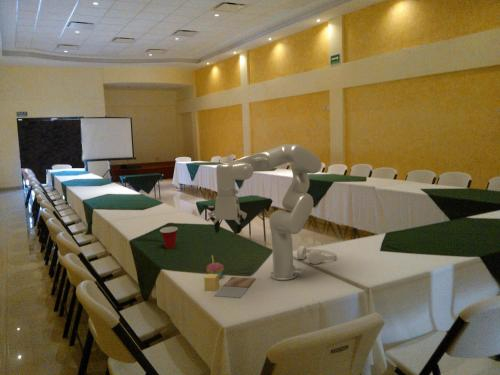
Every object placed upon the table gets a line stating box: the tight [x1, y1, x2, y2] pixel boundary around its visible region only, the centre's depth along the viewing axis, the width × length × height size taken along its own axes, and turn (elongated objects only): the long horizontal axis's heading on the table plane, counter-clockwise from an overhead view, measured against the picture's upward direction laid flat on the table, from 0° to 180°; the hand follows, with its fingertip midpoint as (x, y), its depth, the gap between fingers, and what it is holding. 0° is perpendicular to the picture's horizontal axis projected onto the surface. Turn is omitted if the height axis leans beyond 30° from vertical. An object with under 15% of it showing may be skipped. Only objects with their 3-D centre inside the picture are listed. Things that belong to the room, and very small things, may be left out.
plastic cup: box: [159, 226, 179, 250], centre depth 258 cm, size 11×11×12 cm
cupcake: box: [205, 255, 225, 279], centre depth 202 cm, size 9×8×12 cm
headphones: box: [296, 245, 338, 265], centre depth 224 cm, size 7×18×20 cm
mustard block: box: [203, 273, 220, 292], centre depth 188 cm, size 5×5×6 cm
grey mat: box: [213, 285, 249, 299], centre depth 183 cm, size 12×11×1 cm
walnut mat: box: [223, 276, 257, 289], centre depth 194 cm, size 12×11×1 cm
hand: (228, 232), depth 180 cm, fingers open, 9 cm apart
